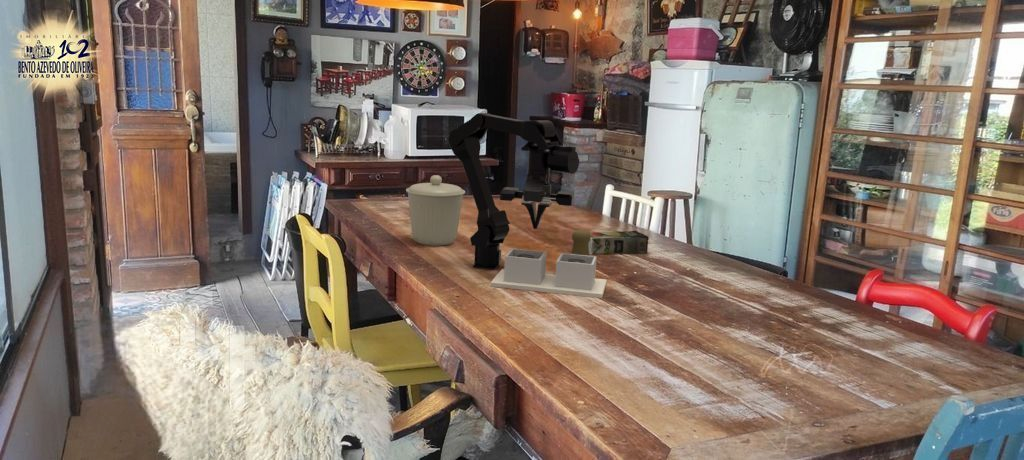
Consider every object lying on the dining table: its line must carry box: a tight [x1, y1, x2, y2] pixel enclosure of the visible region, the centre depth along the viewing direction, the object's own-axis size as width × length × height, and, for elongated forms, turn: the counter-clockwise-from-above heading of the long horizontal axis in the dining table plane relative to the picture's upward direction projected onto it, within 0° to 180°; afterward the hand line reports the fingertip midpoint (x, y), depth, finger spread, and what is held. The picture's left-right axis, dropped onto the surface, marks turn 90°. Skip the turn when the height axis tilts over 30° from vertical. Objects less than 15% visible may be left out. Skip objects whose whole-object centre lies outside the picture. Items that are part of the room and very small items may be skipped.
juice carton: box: [588, 230, 650, 256], centre depth 227 cm, size 20×10×6 cm, turn 107°
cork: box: [570, 229, 591, 256], centre depth 203 cm, size 6×6×11 cm
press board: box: [490, 248, 608, 299], centre depth 186 cm, size 28×14×8 cm, turn 79°
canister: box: [405, 174, 466, 247], centre depth 225 cm, size 18×18×21 cm
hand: (535, 228), depth 191 cm, fingers closed
